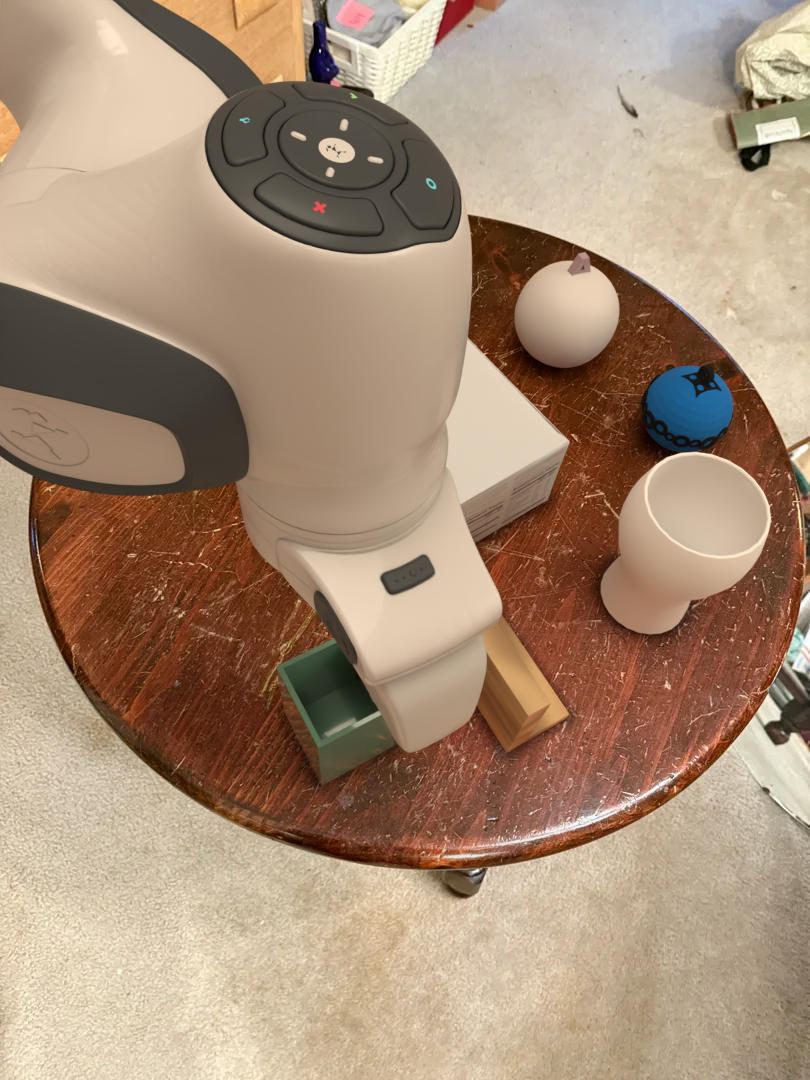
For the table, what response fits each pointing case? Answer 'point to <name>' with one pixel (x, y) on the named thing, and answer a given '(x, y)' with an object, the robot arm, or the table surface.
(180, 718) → the table surface
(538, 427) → the supplement box
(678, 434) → the ornament
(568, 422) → the table surface
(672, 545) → the cup
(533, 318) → the ornament
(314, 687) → the green rectangular container
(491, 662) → the stepped wooden molding
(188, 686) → the table surface
